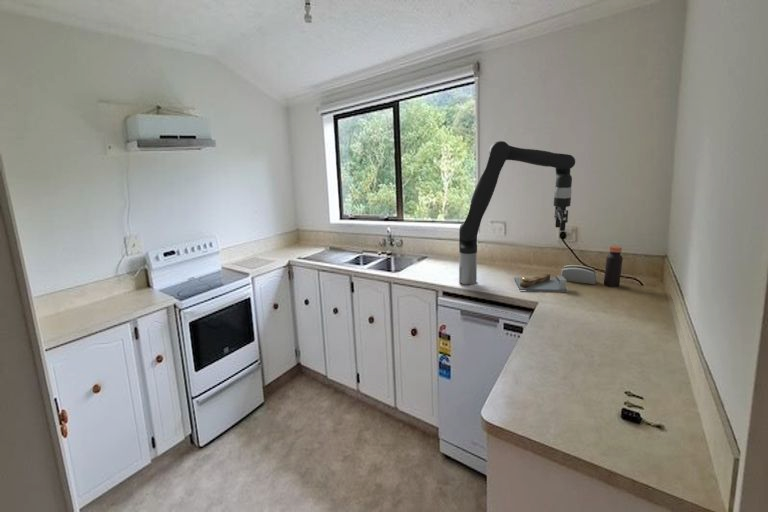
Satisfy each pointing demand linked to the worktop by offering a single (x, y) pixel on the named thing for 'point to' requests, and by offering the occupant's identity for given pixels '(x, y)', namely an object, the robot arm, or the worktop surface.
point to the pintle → (525, 279)
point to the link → (535, 280)
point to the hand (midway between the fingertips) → (559, 229)
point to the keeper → (561, 282)
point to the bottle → (613, 267)
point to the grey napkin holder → (579, 274)
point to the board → (541, 286)
